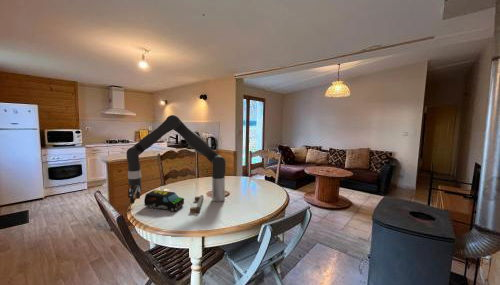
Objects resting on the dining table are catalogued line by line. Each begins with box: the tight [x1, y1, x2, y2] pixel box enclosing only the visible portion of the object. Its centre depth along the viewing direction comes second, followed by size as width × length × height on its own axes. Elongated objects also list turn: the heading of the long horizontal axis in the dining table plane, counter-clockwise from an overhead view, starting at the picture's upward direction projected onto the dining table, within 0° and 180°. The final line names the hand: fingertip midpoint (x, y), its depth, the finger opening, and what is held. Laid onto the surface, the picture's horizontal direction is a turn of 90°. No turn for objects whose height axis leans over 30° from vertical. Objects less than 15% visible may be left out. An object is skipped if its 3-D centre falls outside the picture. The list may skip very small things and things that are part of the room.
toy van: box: [143, 189, 185, 213], centre depth 138 cm, size 11×25×10 cm, turn 76°
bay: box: [189, 194, 204, 214], centre depth 140 cm, size 6×21×4 cm, turn 6°
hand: (135, 200), depth 136 cm, fingers open, 8 cm apart
